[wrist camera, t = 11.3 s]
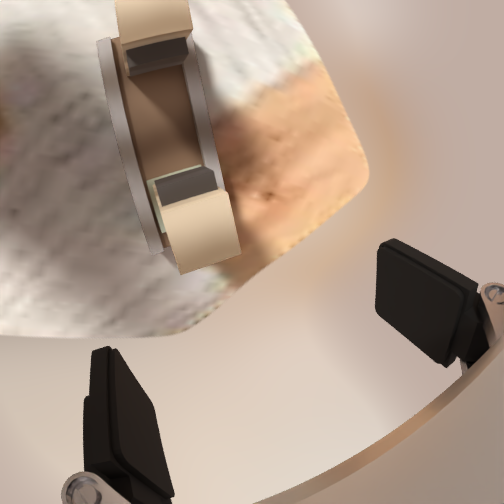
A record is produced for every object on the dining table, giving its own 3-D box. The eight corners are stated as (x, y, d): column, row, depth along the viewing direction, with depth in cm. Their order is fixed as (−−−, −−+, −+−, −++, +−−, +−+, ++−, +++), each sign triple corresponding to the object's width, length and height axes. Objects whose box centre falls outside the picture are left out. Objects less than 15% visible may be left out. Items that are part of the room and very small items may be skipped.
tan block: (148, 171, 25) (154, 193, 16) (192, 158, 25) (223, 173, 17) (164, 226, 27) (180, 275, 18) (206, 213, 28) (241, 254, 19)
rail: (100, 50, 21) (78, -1, 10) (182, 30, 23) (215, -29, 12) (150, 242, 30) (161, 309, 19) (224, 218, 32) (275, 269, 21)
